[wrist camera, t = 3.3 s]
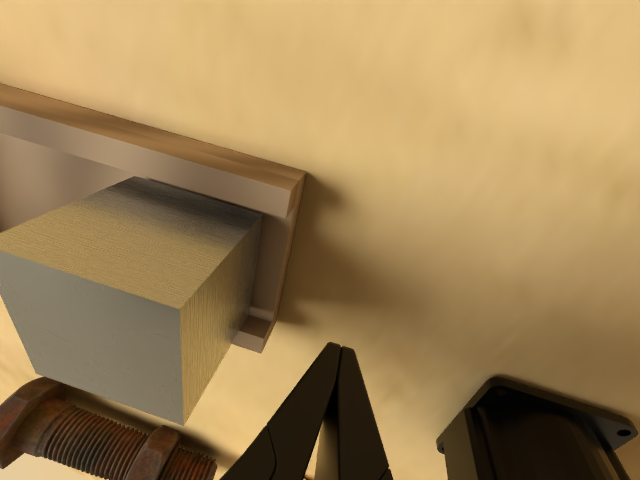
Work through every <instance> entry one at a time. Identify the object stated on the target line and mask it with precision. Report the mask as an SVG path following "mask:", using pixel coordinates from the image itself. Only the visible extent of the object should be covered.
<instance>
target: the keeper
mask: <svg viewBox="0 0 640 480" xmlns="http://www.w3.org/2000/svg"><path fill="white" fill-rule="evenodd" d="M262 217H263V214H260V213H257V212H253V211H250V210H247V209H243V208H240V207H237V206H233V205H230V204H227V203H223V202H220V201H217V200H213V199H210V198H207V197H204V196H200V195H197V194H194V193H190V192H187V191H184V190H180V189H177V188H174V187H170V186H167V185H164V184H160V183H157V182H154V181H150V180H147V179H144V178H140V177H137V176H133V177H131V178H128V179H126V180H124V181H121V182H119V183H117V184H114V185H112V186H109V187H107V188H105V189H102V190H100V191H98V192H95V193H93V194H91V195H88V196H86V197H84V198H81V199H79V200H77V201H74V202H72V203H69V204H67V205H65V206H62V207H60V208H58V209H55V210H53V211H51V212H48V213H46V214H44V215H41V216H39V217H36V218H34V219H32V220H29V221H27V222H25V223H22V224H20V225H18V226H15V227H13V228H11V229H8V230H6V231H3V232H1V233H0V295H1V297H2V299H3V302H4V304H5V306H6V308H7V310H8V313H9V315H10V317H11V319H12V321H13V323H14V326H15V328H16V330H17V332H18V334H19V337H20V339H21V341H22V343H23V345H24V348H25V350H26V352H27V354H28V356H29V359H30V361H31V363H32V365H33V367H34V370H35V372H36V374H39V375H42V376H45V377H47V378H50V379H53V380H56V381H59V382H62V383H64V384H67V385H70V386H73V387H76V388H79V389H81V390H84V391H87V392H90V393H93V394H96V395H98V396H101V397H104V398H107V399H110V400H113V401H115V402H118V403H121V404H124V405H127V406H129V407H132V408H135V409H138V410H141V411H144V412H146V413H149V414H152V415H155V416H158V417H161V418H163V419H166V420H169V421H172V422H175V423H178V424H180V425H183V426H184V425H185V423H186V421H187V419H188V418H189V416H190V414H191V413H192V411H193V409H194V407H195V406H196V404H197V402H198V401H199V399H200V397H201V395H202V394H203V392H204V390H205V389H206V387H207V385H208V383H209V382H210V380H211V378H212V376H213V375H214V373H215V371H216V370H217V368H218V366H219V364H220V363H221V361H222V359H223V358H224V356H225V354H226V352H227V351H228V349H229V347H230V346H231V344H232V342H233V340H234V339H235V337H236V335H237V333H238V332H239V330H240V328H241V327H242V325H243V323H244V321H245V320H246V318H247V316H248V315H249V313H250V307H251V299H252V292H253V284H254V277H255V269H256V262H257V255H258V247H259V240H260V232H261V225H262Z"/></svg>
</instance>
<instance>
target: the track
mask: <svg viewBox="0 0 640 480" xmlns="http://www.w3.org/2000/svg"><path fill="white" fill-rule="evenodd" d="M133 176H137V177H140V178H144V179H147V180H150V181H154V182H157V183H160V184H164V185H167V186H170V187H174V188H177V189H180V190H184V191H187V192H190V193H194V194H197V195H200V196H204V197H207V198H210V199H213V200H217V201H220V202H223V203H227V204H230V205H233V206H237V207H240V208H243V209H247V210H250V211H253V212H257V213H260V214H263V217H262V225H261V232H260V240H259V247H258V255H257V262H256V269H255V277H254V284H253V292H252V299H251V307H250V313H249V315H248V316H247V318H246V320H245V321H244V323H243V325H242V327H241V328H240V330H239V332H238V333H237V335H236V337H235V339H234V340H233V342H232V344H234V345H237V346H240V347H243V348H246V349H249V350H252V351H255V352H258V353H262V351H263V349H264V347H265V344H266V342H267V340H268V338H269V336H270V334H271V331H272V329H273V327H274V325H275V323H276V319H277V314H278V309H279V304H280V299H281V294H282V289H283V284H284V280H285V275H286V270H287V265H288V260H289V255H290V250H291V245H292V240H293V235H294V230H295V225H296V220H297V216H298V211H299V206H300V201H301V196H302V191H303V186H304V181H305V176H306V172H305V171H302V170H299V169H295V168H292V167H288V166H285V165H281V164H278V163H274V162H271V161H267V160H264V159H260V158H257V157H253V156H250V155H247V154H243V153H240V152H236V151H233V150H229V149H226V148H222V147H219V146H215V145H212V144H208V143H205V142H201V141H198V140H194V139H191V138H188V137H184V136H181V135H177V134H174V133H170V132H167V131H163V130H160V129H156V128H153V127H149V126H146V125H142V124H139V123H136V122H132V121H129V120H125V119H122V118H118V117H115V116H111V115H108V114H104V113H101V112H97V111H94V110H90V109H87V108H84V107H80V106H77V105H73V104H70V103H66V102H63V101H59V100H56V99H52V98H49V97H45V96H42V95H38V94H35V93H31V92H28V91H25V90H21V89H18V88H14V87H11V86H7V85H4V84H0V233H1V232H3V231H6V230H8V229H11V228H13V227H15V226H18V225H20V224H22V223H25V222H27V221H29V220H32V219H34V218H36V217H39V216H41V215H44V214H46V213H48V212H51V211H53V210H55V209H58V208H60V207H62V206H65V205H67V204H69V203H72V202H74V201H77V200H79V199H81V198H84V197H86V196H88V195H91V194H93V193H95V192H98V191H100V190H102V189H105V188H107V187H109V186H112V185H114V184H117V183H119V182H121V181H124V180H126V179H128V178H131V177H133Z"/></svg>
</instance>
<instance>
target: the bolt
mask: <svg viewBox="0 0 640 480" xmlns="http://www.w3.org/2000/svg"><path fill="white" fill-rule="evenodd" d="M180 439H181V436H180V434H179V432H178V431H176V430H174V429H171V428H169V427H166V426H164V425H163V426H161V427H159V428H157V429H155V430H154V431H153V433H152V434H151V435H150V434H149V435H147V434H146V433H144V434H142V431H140V432H139V433H138V429H137V430H135V431H134V428H131V429H130V427H129V426H128V427H126V428H125V425H123V426H121V423H119V424H118V425H117V422H114V423H113V420H110V421H109V419H108V418H107V419H105V417H101V416H100V415H98V416H97V414H93V413H91V412H88V411H85V410H83V409H80V408H78V407H76V405H74V404H71V403H69V402H67V401H66V396H65V392H64V387H63V383H62V382H59V381H56V380H53V379H50V378H47V377H41V378H38V379H35V380H32V381H30V382H28V383H26V384H25V385H23V386H22V387H20V388H19V389H18V390H17V391H16V392H14V393H13V394H12V395H11V396H10V397H9V398H7V399H6V400H5V401H4V402H3V403H2V404H1V405H0V468H1V469H4V468H5V467H7V466H8V465H9V464H11V463H12V462H13V461H15V460H16V459H17V458H18V457H20V456H21V455H22V454H24V453H27V454H30V455H33V456H35V457H40V456H41V457H44V458H48V459H49V460H53V461H57V462H58V463H62V464H63V465H67V466H68V467H70V466H71V467H72V468H76V469H77V470H81V471H82V472H84V471H85V472H86V473H90V474H91V475H94V474H95V476H99V477H100V478H103V477H104V479H105V480H106V479H109V480H213V478H214V475H215V472H216V469H217V464H216V463H215V459H214V460H213V461H212V458H209V459H208V456H206V457H204V454H203V455H201V456H200V453H198V454H196V451H195V452H193V453H192V450H189V451H188V448H186V449H183V447H181V448H179V444H180Z"/></svg>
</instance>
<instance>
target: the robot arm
mask: <svg viewBox="0 0 640 480" xmlns="http://www.w3.org/2000/svg"><path fill="white" fill-rule="evenodd" d="M320 428H321V429H320ZM319 431H320V437H319V445H318V453H317V462H316V470H315V478H314V480H393V477H392V474H391V470H390V469H388V468H389V464H388V461H387V457H386V454H385V451H384V447H383V444H382V441H381V437H380V434H379V430H378V427H377V424H376V420H375V417H374V414H373V410H372V407H371V404H370V400H369V397H368V394H367V390H366V387H365V384H364V380H363V377H362V374H361V370H360V367H359V364H358V360H357V357H356V353H355V351H354V350H353V349H351V348H348V347H345V346H342V347H341V346H340V345H339V344H336V343H333V342H328V343H327V345H326V346H325V347H324V349H323V350H322V351H321V353H320V354H319V355H318V357H317V358H316V359H315V361H314V362H313V363H312V365H311V366H310V367H309V369H308V370H307V371H306V373H305V374H304V375H303V377H302V378H301V379H300V381H299V382H298V383H297V385H296V386H295V387H294V389H293V390H292V391H291V393H290V394H289V395H288V396H287V398H286V399H285V400H284V402H283V403H282V404H281V406H280V407H279V408H278V410H277V411H276V412H275V414H274V415H273V416H272V418H271V419H270V420H269V422H268V423H267V425H266V426H265V427H264V428H263V429H262V431H261V432H260V433H259V435H258V436H257V437H256V439H255V440H254V441H253V442H252V443H251V445H250V446H249V447H248V448H247V450H246V451H245V452H244V453H243V455H242V456H241V457H240V458H239V459H238V460H237V461H236V462H235V463H234V465H233V466H232V467H231V468H230V469H229V470H228V471H227V472H226V473H225V474H224V475H223V476H222V477H221V478H220V479H219V480H303V479H304V476H305V473H306V470H307V467H308V464H309V461H310V458H311V455H312V452H313V449H314V446H315V443H316V440H317V437H318V434H319ZM637 435H638V430H637V429H636V427H635V426H634V425H633V423H632V422H631V420H629V419H627V418H625V417H621V416H618V415H615V414H612V413H609V412H606V411H603V410H600V409H596V408H593V407H590V406H587V405H584V404H581V403H578V402H575V401H571V400H568V399H565V398H562V397H559V396H556V395H553V394H550V393H546V392H543V391H540V390H537V389H534V388H531V387H528V386H525V385H521V384H518V383H515V382H512V381H509V380H506V379H503V378H492V379H489V380H487V381H486V382H485V383H484V385H483V386H482V387H481V388H480V389H479V390H478V392H477V393H476V394H475V395H474V396H473V397H472V399H471V400H470V401H469V402H468V403H467V404H466V406H465V407H464V408H463V409H462V410H461V411H460V413H459V414H458V415H457V416H456V417H455V418H454V420H453V421H452V422H451V423H450V424H449V426H448V427H447V428H446V429H445V430H444V431H443V433H442V434H441V435H440V436H439V437H438V438H437V440H436V443H437V450H438V451H439V452H440V453H442V454H445V461H446V468H447V476H448V480H630V478H629V476H628V475H627V473H626V471H625V469H624V468H623V466H622V464H621V462H620V461H619V459H618V457H617V455H616V454H615V452H614V450H616V449H617V448H619V447H620V446H622V445H624V444H625V443H627V442H628V441H630V440H631V439H633V438H634V437H636V436H637Z"/></svg>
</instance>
